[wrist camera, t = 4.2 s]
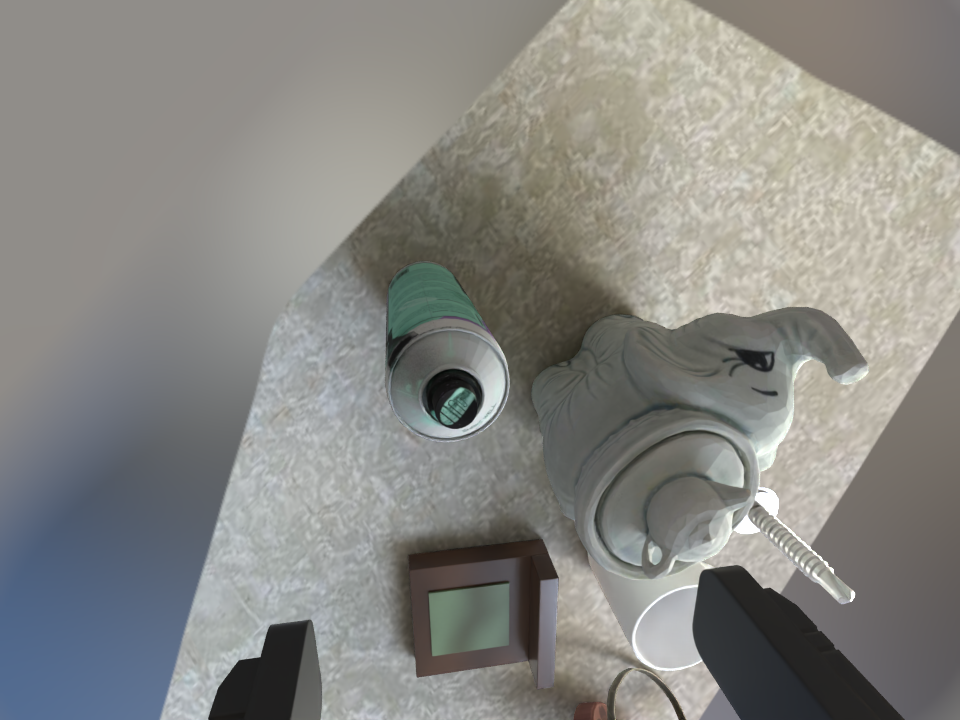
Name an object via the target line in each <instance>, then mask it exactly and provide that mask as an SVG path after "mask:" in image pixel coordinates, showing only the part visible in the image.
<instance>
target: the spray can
mask: <svg viewBox="0 0 960 720" xmlns="http://www.w3.org/2000/svg"><path fill="white" fill-rule="evenodd" d="M385 387H386V392H387V397H388V399H389V402H390V405H391V407H392V410H393V412H394V414H395V415H396V417H397V418H398V420H399V421H400V422H401V423H402V424H403V425H404V426H405V427H406V428H407V429H408V430H410V431H411V432H413V433H414V434H416V435H418V436H420V437H422V438H425V439H428V440H432V441H437V442H454V441H460V440H464V439H467V438H470V437H473V436H475V435H477V434H478V433H480V432H482V431H484V430H485V429H486V428H487V427H488V426H490V425H491V424H492V423H493V422H494V421H495V420H496V418H497V417H498V416H499V415H500V413H501V411H502V410H503V408H504V406H505V404H506V401H507V398H508V395H509V387H510V378H509V371H508V365H507V362H506V359H505V356H504V353H503V352H502V350H501V348H500V346H499V345H498V343H497V341H496V340H495V338H494V337H493V335H492V334H491V332H490V330H489V329H488V327H487V326H486V324H485V323H484V321H483V319H482V318H481V316H480V315H479V313H478V312H477V310H476V309H475V307H474V305H473V304H472V302H471V301H470V299H469V298H468V296H467V294H466V293H465V291H464V290H463V288H462V287H461V285H460V283H459V282H458V280H457V279H456V277H455V276H454V275H453V274H452V273H451V272H450V271H449V270H448V269H446V268H445V267H444V266H442V265H440V264H438V263H434V262H428V261H421V262H415V263H412V264H409V265H407V266H405V267H404V268H402V269H401V270H400V271H399V272H398V273H397V274H396V275H395V276H394V278H393V279H392V281H391V283H390V285H389V289H388V293H387V322H386V367H385Z"/></svg>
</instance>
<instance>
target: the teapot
mask: <svg viewBox="0 0 960 720" xmlns="http://www.w3.org/2000/svg"><path fill="white" fill-rule="evenodd" d="M811 359H814V360H817V361H820V362H822V363H824V364H825V365H826V368H827V372H828V374H829V375H830V377H831V378H832V379H833V380H835V381H837V382H839V383H842V384H850V383H854V382H857V381H858V380H860V379H862V378H863V377H865V376H866V374H867V373H868V372H869V367H868V363H867V362H866V360H865V359H864V357H863V356H862V355H861V353H860V352H859V350H858V349H857V347H856V345H855V344H854V342H853V341H852V339H851V338H850V337H849V336H848V334H847V333H846V332H845V331H844V330H843V328H842V327H841V326H840V325H839V323H838V322H837V321H836V320H835V319H833V318H832V317H831V316H829V315H827V314H826V313H824V312H823V311H821V310H817V309H813V308H809V307H787V308H782V309H778V310H774V311H769V312H766V313H762V314H759V315H756V316H753V317H740V316H736V315H733V314H725V313H715V314H710V315H707V316H705V317H702V318H698V319H696V320H694V321H692V322H690V323H689V324H686V325H683V326H681V327H679V328H677V329H673V330H671V329H666V328H665V327H663V326H661V325H659V324H656V323H653V322H649V321H643V319H641V318H639V317H637V316H632V315H619V314H618V315H610V316H607V317H605V318H602V319H600V320H598V321H597V322H595V323H594V324H593V325H592V326H591V327H590V328H589V329H588V330H587V331H586V334H585V336H584V339H583V342H582V346H581V349H580V350H579V352H578V353H577V354H576V356H575V357H574V358H572V359H570V360H568V361H565V362H562V363H558V364H555V365H552V366H550V367H548V368H546V369H545V370H543V371H542V372H541V373H540V374H539V375H538V376H537V377H536V379H535V380H534V382H533V386H532V390H531V397H532V400H533V404H534V407H535V410H536V412H537V414H538V416H539V426H540V431H541V434H542V436H543V454H544V461H545V467H546V471H547V475H548V478H549V481H550V483H551V486H552V488H553V491H554V493H555V495H556V497H557V499H558V501H559V504H560V510H561V512H562V513H563V514H564V515H565V516H566V517H568V518H570V519H573V520H575V528H576V532H577V534H578V536H579V538H580V540H581V542H582V544H583V545H584V547H585V549H586V550H587V552H588V553H589V554H590V556H591V557H592V558H593V559H594V560H595V561H596V562H597V564H599V565H600V566H602V567H603V568H604V569H606V570H607V571H609V572H612V573H614V574H617V575H620V576H622V577H625V578H628V579H632V580H656V579H661V578H663V577H666V576H670V575H674V574H677V573H679V572H681V571H683V570H685V569H686V568H688V567H690V566H692V565H694V564H696V563H698V562H700V561H703V560H705V559H708V558H710V557H711V556H713V555H715V554H717V553H718V552H719V551H720V550H721V549H722V548H723V547H724V545H725V544H726V543H727V541H728V539H729V536H730V534H731V533H732V532H733V531H734V530H735V529H736V528H737V527H738V526H739V525H740V524H741V523H742V521H743V520H744V518H745V517H746V515H747V513H748V512H749V510H750V509H751V507H752V506H753V503H754V501H755V498H756V496H757V494H758V489H759V484H760V471H763V470H766V469H768V468H769V467H770V466H771V465H772V463H773V461H774V459H775V456H776V451H777V446H778V444H779V443H780V442H781V441H782V440H783V439H784V437H785V436H786V434H787V432H788V430H789V428H790V425H791V423H792V419H793V414H794V379H795V377H796V374H797V371H798V369H799V368H800V367H801V366H802V364H803V363H804V362H806V361H808V360H811Z"/></svg>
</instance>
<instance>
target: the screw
mask: <svg viewBox="0 0 960 720" xmlns="http://www.w3.org/2000/svg"><path fill="white" fill-rule="evenodd" d="M778 504H779V502H778V498H777V496H776V494H775V493H774V492H773V491H772V490H770V489H769V488H767V487H763V486H759V489H758V494H757V496H756V498H755V501H754V503H753V506H752V507H751V509H750V510H749V512H748V513H747V515H746V517H745V518H744V520H743V521H742V523H741V524H740V525H739V526H738V527H737V528H736V529H735V530H736V531H737V532H740V533H744V534H749V533H754V532H758V531H760V532H761V533H762V534H764V536H765V537H766V538H768V539H769V541H770V542H772V543H773V544H774V546H776V547H777V548H778V549H779V550H780V551H781V552H782V553H783V554H784V555H785V556H786V557H788V559H789V560H790V561H792V562H793V564H794V565H795V566H797V567H798V568H799V570H800V571H802V572H803V573H804V575H805V576H807V577H809V578H810V579H811V580H812V581H813V582H816V583H819V584H820V585H821V586H822V587H823V588H824V589H825V590H826V591H828V592H829V593H830V594H831V595H832V596H833V597H834V598H835V599H836V600H837V601H838V602H839V603H840V604H844V603H847V602H851V601H852V599H853V598H854V594H855V593H854V591H853V590H852V589H851V588H850V587H848V586H847V585H846V584H845V583H844V582H843V581H842V580H841V579H840V578H838V577H837V576H836V575H835V574H834V573H833V569H832V568H831V567H828V564H827V562H826V561H822V557H821V556H819V555H816V552H815V551H813V550H811V548H810V547H809V546H807V545H806V544H805V542H804V541H800V538H799V537H798V536H795V533H794V532H792V531H790V529H789V528H788V527H785V524H784V523H781V522H780V520H779V519H777V518H776V517H775V516H776V514H777V511H778Z"/></svg>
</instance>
